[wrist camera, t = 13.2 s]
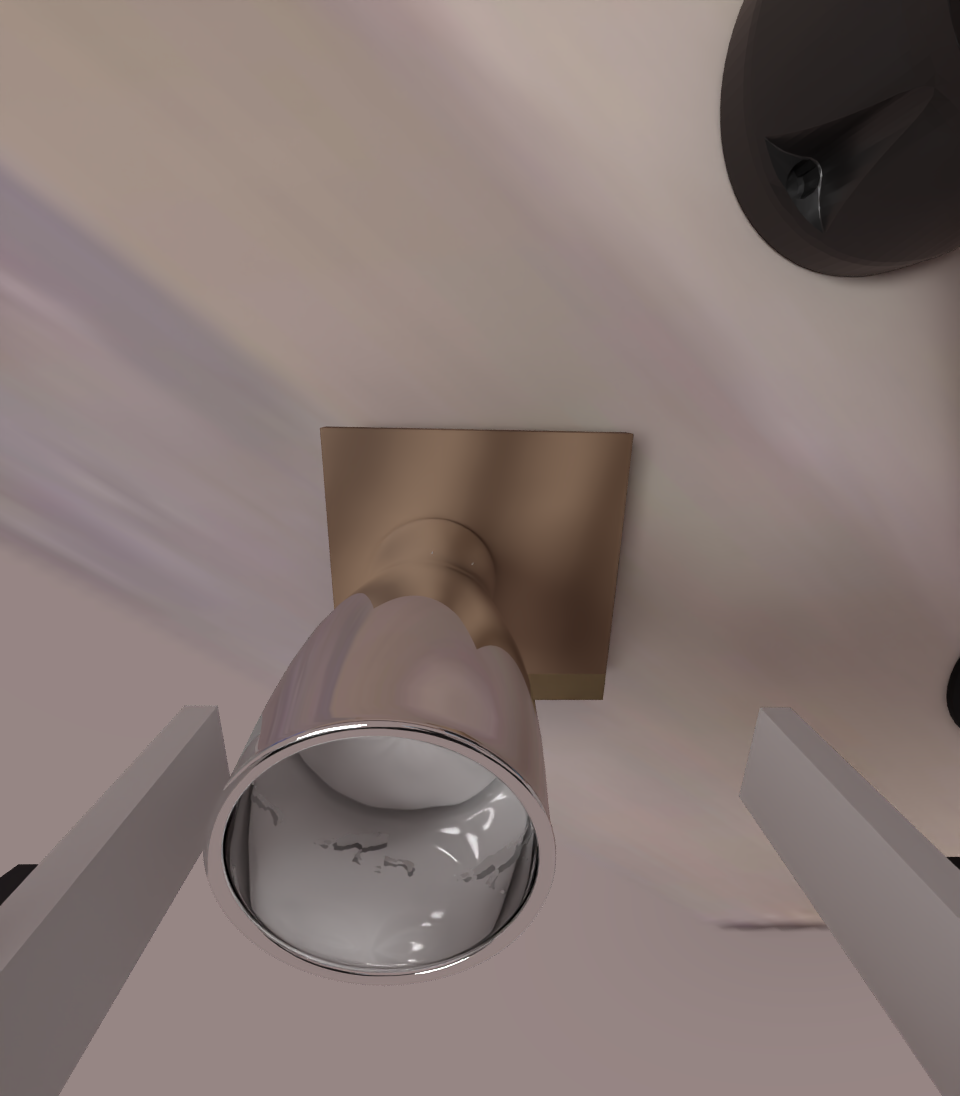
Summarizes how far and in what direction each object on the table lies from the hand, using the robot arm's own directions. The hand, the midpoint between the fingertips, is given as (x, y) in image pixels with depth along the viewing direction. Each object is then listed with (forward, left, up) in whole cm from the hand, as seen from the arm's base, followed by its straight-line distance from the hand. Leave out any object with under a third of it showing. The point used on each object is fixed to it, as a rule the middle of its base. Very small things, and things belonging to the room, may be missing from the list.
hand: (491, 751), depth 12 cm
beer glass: (+2, 0, -12) cm, 12 cm away
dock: (0, 0, -16) cm, 16 cm away
